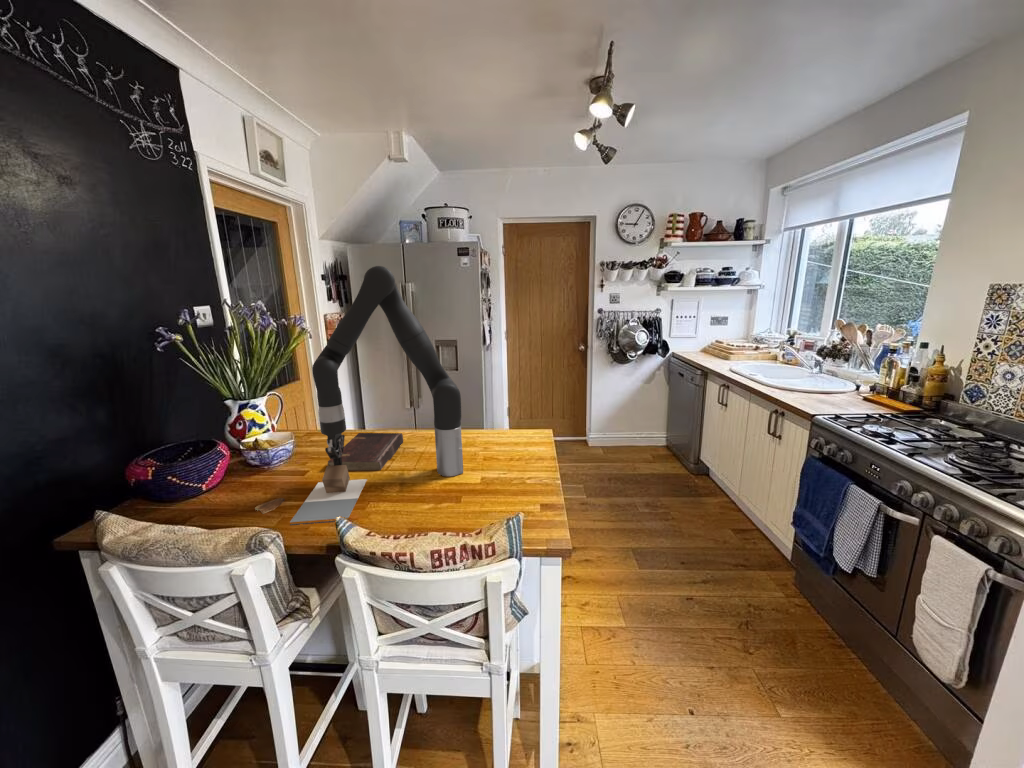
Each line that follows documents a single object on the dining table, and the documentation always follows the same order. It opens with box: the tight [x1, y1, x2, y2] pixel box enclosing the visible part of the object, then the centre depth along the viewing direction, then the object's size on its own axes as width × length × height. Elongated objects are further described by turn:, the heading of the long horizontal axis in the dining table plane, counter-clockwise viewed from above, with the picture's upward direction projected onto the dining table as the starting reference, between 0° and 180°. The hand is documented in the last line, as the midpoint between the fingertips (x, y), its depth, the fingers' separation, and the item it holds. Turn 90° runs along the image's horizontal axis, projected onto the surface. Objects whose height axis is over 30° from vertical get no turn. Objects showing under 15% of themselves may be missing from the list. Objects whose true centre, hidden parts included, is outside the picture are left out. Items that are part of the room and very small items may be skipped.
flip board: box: [289, 478, 368, 526], centre depth 127 cm, size 16×24×1 cm, turn 7°
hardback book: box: [327, 432, 404, 471], centre depth 160 cm, size 29×19×5 cm, turn 179°
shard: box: [254, 497, 286, 515], centre depth 125 cm, size 11×8×2 cm
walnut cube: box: [321, 465, 351, 493], centre depth 132 cm, size 6×6×6 cm
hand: (338, 467), depth 134 cm, fingers closed
